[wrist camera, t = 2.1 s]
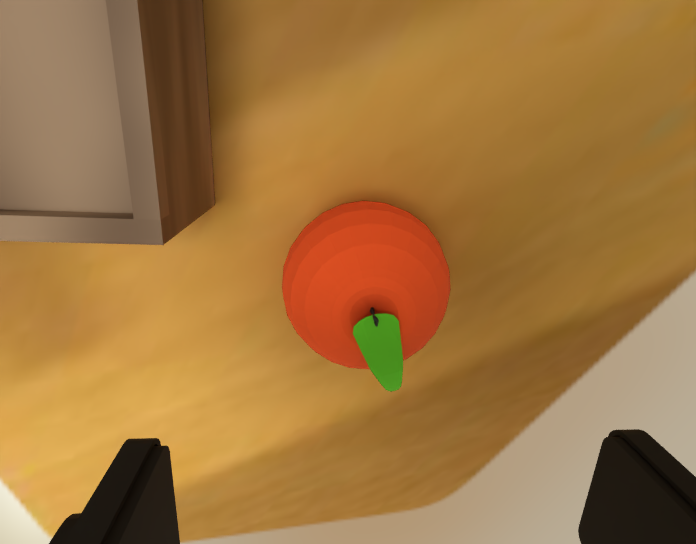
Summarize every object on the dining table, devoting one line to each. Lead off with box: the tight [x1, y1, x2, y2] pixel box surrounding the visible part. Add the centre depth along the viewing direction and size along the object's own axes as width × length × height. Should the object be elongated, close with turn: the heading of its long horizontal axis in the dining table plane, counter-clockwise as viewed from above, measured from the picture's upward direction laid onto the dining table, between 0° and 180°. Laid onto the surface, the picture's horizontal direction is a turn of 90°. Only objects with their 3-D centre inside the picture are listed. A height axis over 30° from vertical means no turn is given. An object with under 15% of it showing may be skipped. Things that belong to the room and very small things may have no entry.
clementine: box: [282, 201, 450, 391], centre depth 18 cm, size 8×7×7 cm
